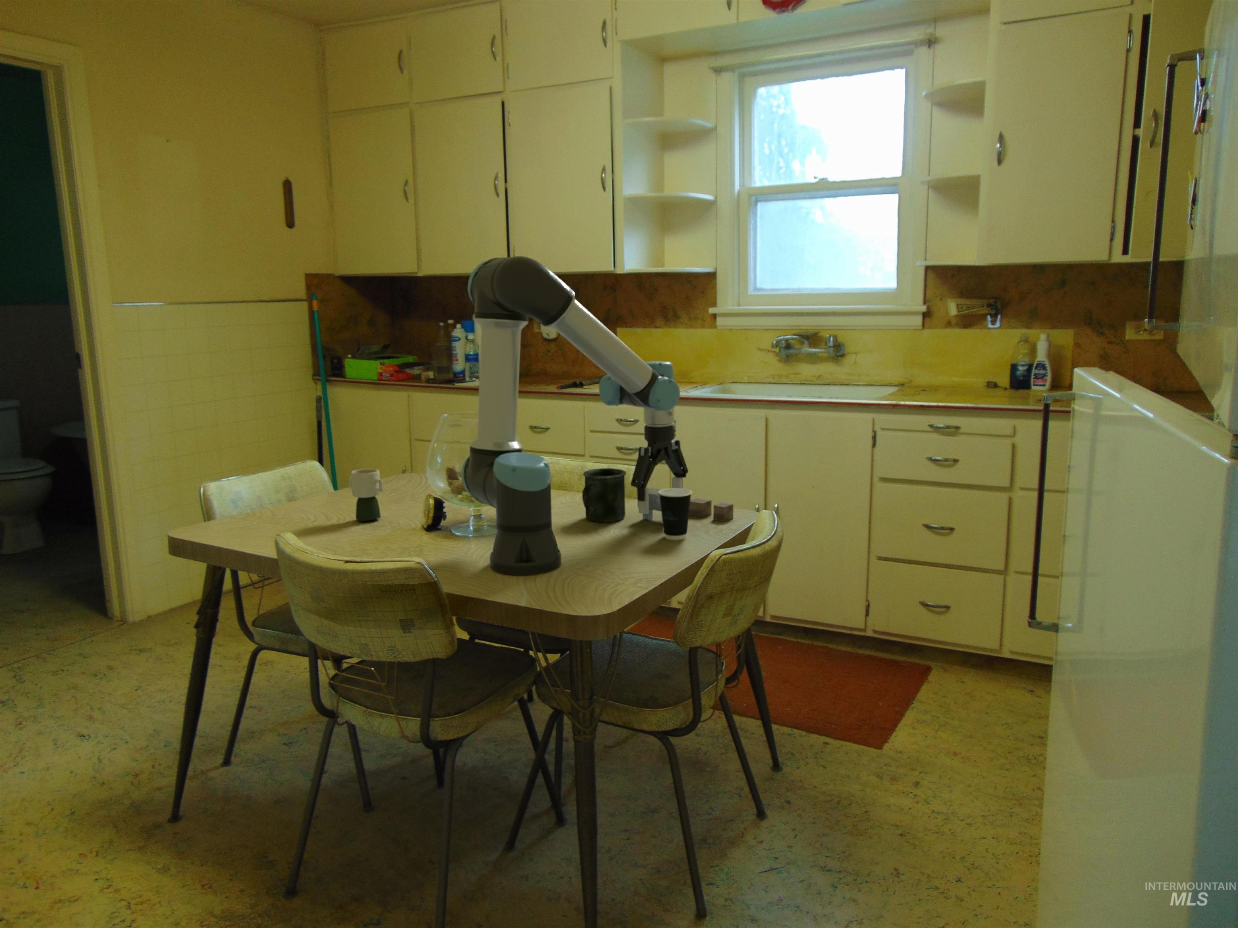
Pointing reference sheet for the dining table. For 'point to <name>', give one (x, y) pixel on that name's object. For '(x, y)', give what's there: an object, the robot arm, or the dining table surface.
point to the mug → (604, 494)
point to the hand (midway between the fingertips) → (660, 507)
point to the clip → (653, 503)
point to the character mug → (366, 493)
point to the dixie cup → (675, 512)
